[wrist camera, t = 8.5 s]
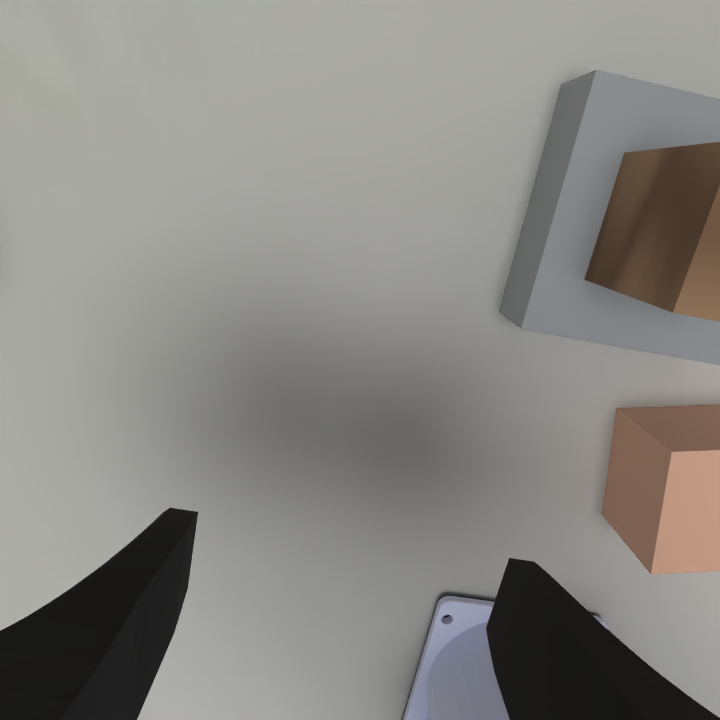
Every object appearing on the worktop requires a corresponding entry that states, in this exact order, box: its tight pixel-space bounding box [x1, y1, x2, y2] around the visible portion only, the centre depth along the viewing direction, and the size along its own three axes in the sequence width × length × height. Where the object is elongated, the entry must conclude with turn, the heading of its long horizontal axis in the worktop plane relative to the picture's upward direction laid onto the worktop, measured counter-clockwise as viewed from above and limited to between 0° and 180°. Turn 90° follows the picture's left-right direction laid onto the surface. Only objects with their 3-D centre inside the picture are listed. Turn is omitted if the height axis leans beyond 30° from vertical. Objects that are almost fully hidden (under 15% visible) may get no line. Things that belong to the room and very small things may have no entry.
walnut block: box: [584, 142, 720, 322], centre depth 15 cm, size 4×4×5 cm
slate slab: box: [499, 70, 720, 365], centre depth 19 cm, size 8×8×3 cm
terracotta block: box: [602, 405, 720, 574], centre depth 22 cm, size 5×5×4 cm
